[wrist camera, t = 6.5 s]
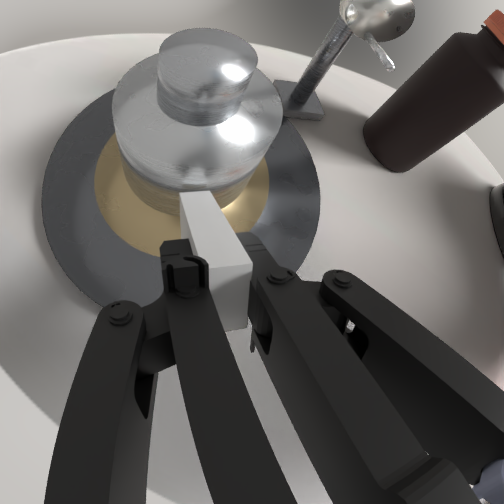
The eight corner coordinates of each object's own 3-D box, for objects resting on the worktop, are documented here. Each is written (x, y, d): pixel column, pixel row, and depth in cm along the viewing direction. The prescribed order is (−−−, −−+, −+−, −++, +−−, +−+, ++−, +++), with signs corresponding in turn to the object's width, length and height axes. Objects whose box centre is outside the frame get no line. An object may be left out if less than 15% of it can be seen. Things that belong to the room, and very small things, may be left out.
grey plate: (281, 87, 24) (285, 79, 23) (338, 299, 20) (347, 298, 19) (66, 95, 18) (64, 86, 17) (51, 341, 14) (44, 342, 13)
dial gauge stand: (312, 91, 26) (393, -22, 11) (337, 159, 24) (459, 41, 9) (266, 86, 24) (338, -48, 10) (287, 156, 22) (404, 5, 8)
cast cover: (245, 111, 21) (285, 21, 13) (259, 215, 19) (327, 135, 11) (129, 109, 18) (126, 9, 10) (118, 219, 16) (85, 128, 8)
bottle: (362, 110, 27) (477, -10, 9) (408, 140, 28) (525, 45, 10) (359, 153, 25) (509, 17, 6) (410, 185, 26) (557, 86, 8)
